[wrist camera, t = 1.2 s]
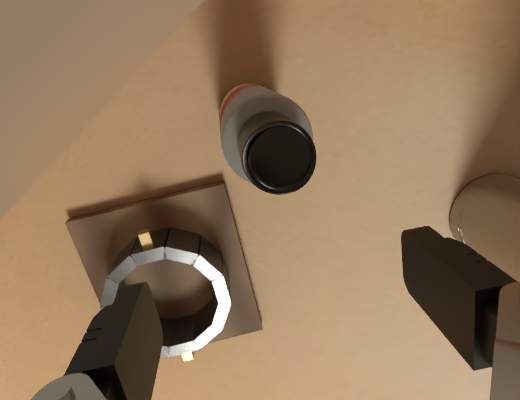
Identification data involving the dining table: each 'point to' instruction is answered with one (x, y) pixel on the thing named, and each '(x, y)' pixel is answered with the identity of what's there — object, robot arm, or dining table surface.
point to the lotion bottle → (266, 139)
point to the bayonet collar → (186, 251)
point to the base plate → (168, 271)
